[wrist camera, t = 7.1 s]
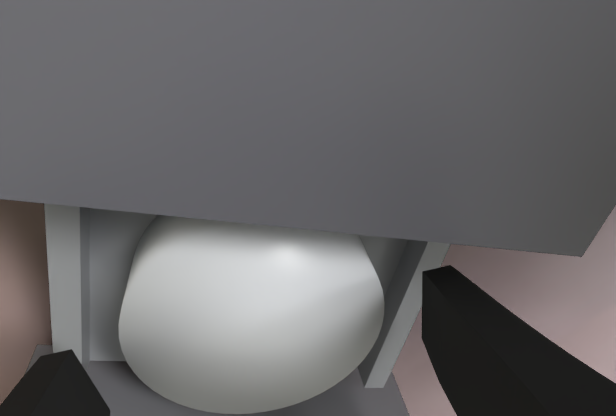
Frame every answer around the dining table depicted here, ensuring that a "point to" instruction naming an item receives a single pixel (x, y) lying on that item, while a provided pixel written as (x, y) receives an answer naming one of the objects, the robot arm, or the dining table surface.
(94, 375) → the tray
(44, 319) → the dining table surface
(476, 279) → the dining table surface
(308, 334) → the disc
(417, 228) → the block
